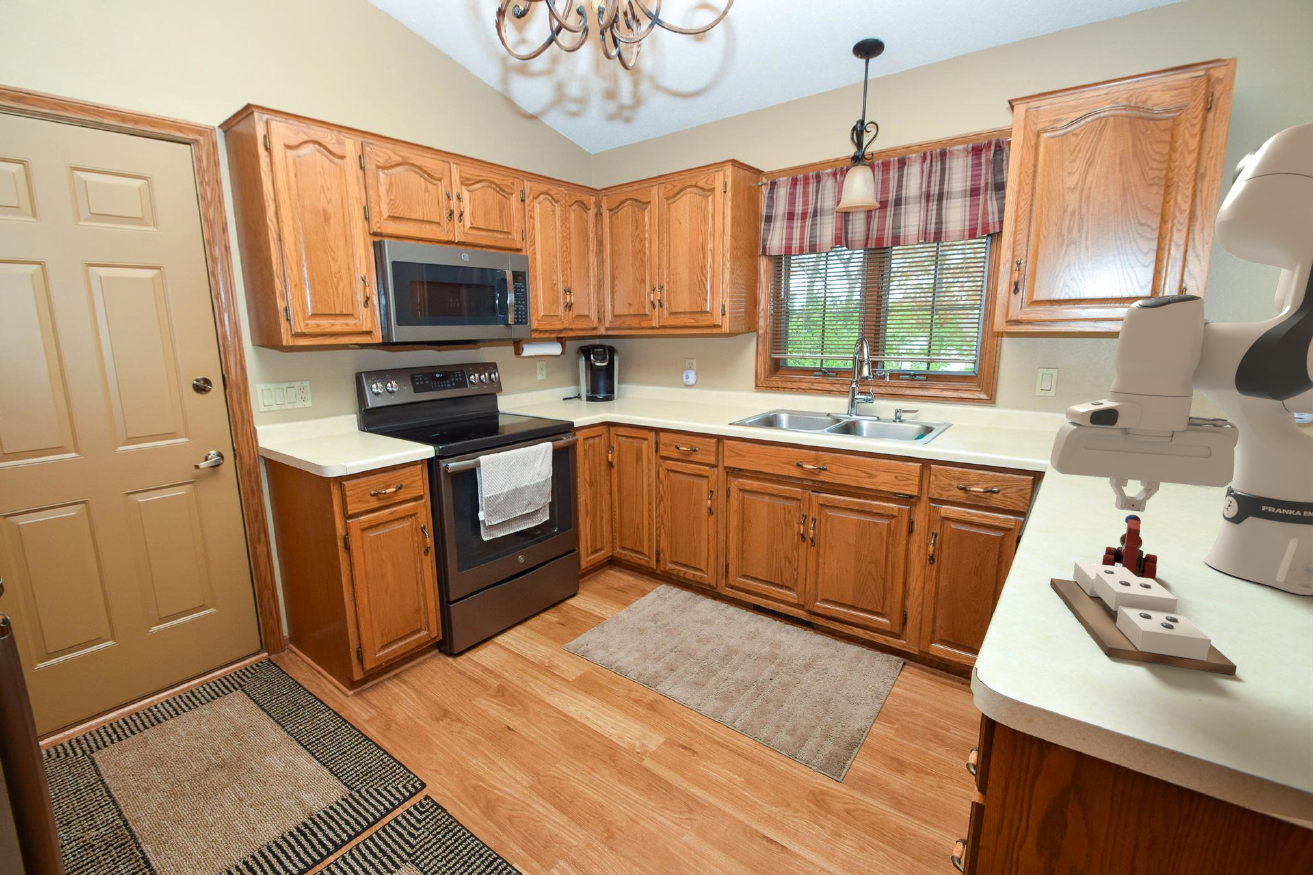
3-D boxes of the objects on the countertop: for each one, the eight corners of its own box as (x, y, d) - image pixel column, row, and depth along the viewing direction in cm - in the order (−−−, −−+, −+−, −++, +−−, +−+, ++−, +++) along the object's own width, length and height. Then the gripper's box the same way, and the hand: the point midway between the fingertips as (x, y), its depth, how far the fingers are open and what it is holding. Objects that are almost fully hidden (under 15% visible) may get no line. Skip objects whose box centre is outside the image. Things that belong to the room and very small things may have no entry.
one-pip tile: (1122, 583, 90) (1125, 566, 90) (1143, 602, 84) (1146, 583, 83) (1072, 577, 92) (1075, 560, 92) (1088, 595, 86) (1091, 577, 85)
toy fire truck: (1154, 571, 99) (1164, 514, 97) (1153, 595, 89) (1164, 533, 88) (1103, 561, 103) (1112, 506, 101) (1097, 583, 94) (1107, 523, 92)
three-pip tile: (1176, 633, 75) (1180, 612, 75) (1207, 660, 69) (1211, 638, 68) (1115, 624, 77) (1118, 604, 77) (1139, 650, 71) (1143, 628, 70)
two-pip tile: (1149, 596, 82) (1152, 577, 82) (1174, 618, 76) (1177, 597, 75) (1093, 589, 84) (1096, 571, 84) (1113, 610, 78) (1116, 590, 78)
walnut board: (1146, 596, 89) (1149, 577, 88) (1234, 675, 68) (1240, 650, 68) (1049, 584, 93) (1052, 566, 92) (1106, 655, 73) (1110, 632, 72)
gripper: (1227, 416, 78) (1207, 512, 81) (1054, 407, 85) (1041, 496, 88) (1256, 422, 73) (1235, 525, 75) (1068, 412, 79) (1054, 507, 82)
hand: (1129, 509), depth 81 cm, fingers closed
